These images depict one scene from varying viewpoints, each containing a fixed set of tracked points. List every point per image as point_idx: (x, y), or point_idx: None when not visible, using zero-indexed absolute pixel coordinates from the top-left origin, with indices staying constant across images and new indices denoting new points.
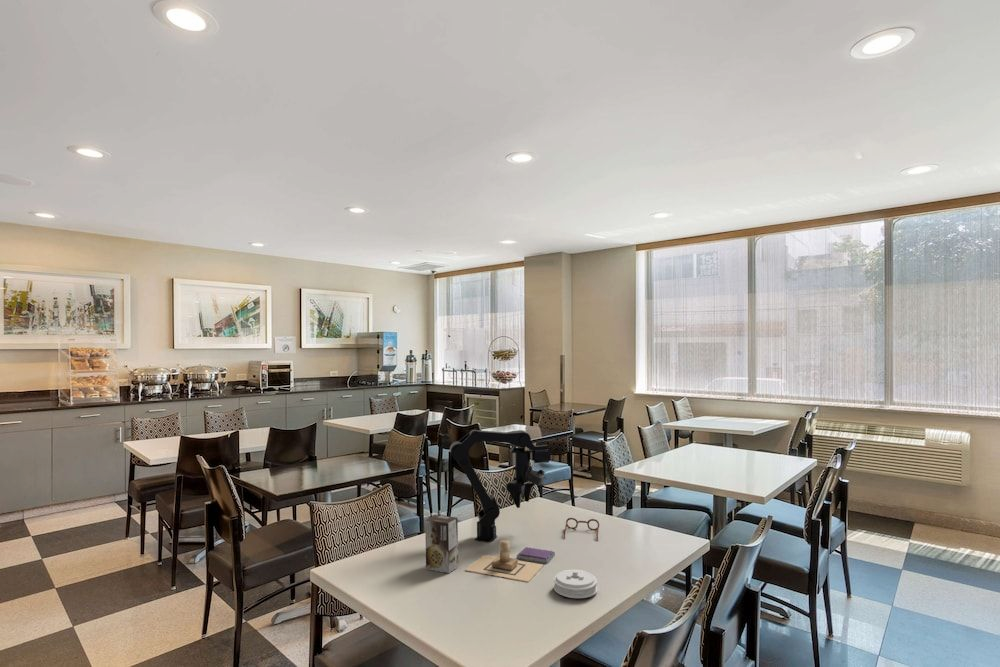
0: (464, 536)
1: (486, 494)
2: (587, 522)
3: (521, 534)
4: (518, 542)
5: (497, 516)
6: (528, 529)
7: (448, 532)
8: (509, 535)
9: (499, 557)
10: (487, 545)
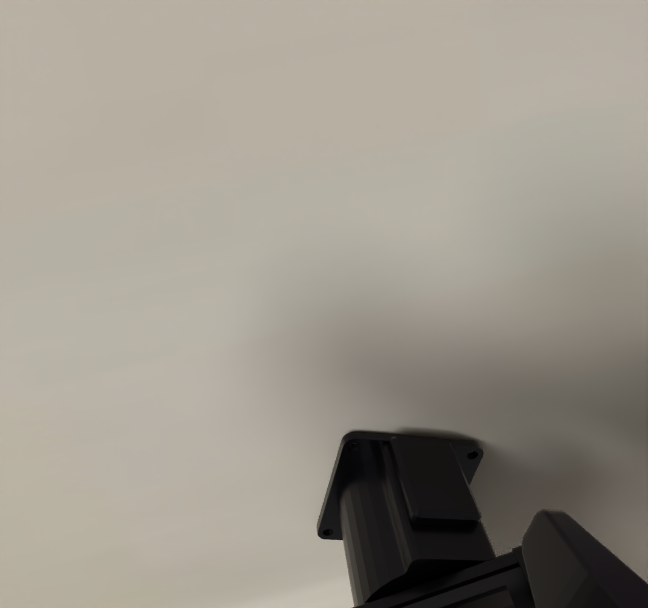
0: None
1: None
2: None
3: (212, 255)
4: (462, 229)
5: (511, 600)
6: (7, 219)
7: None
8: (276, 352)
9: None
10: (545, 435)
